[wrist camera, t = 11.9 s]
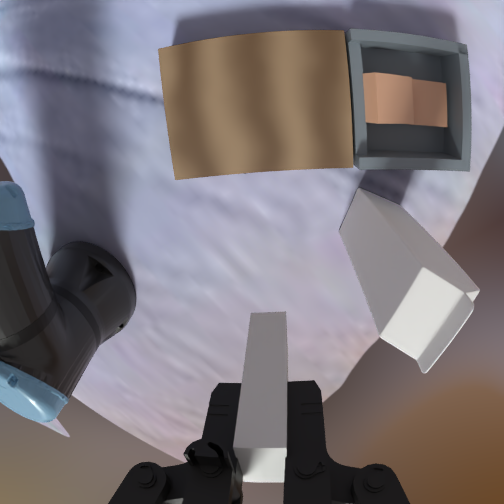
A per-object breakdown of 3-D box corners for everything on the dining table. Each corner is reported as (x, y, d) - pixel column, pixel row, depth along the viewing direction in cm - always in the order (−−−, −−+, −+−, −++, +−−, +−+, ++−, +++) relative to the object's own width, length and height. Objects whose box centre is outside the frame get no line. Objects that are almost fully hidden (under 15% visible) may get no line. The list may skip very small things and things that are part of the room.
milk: (338, 231, 38) (386, 369, 18) (358, 186, 35) (440, 292, 15) (381, 247, 38) (450, 381, 18) (401, 204, 35) (501, 315, 16)
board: (185, 171, 36) (175, 180, 32) (170, 53, 30) (158, 49, 26) (345, 160, 34) (353, 167, 30) (336, 38, 28) (344, 30, 24)
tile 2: (365, 122, 28) (378, 123, 27) (362, 73, 26) (375, 72, 25) (400, 122, 30) (413, 123, 28) (398, 77, 28) (411, 77, 26)
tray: (348, 160, 34) (359, 169, 29) (340, 38, 28) (350, 28, 23) (449, 161, 32) (469, 171, 28) (445, 49, 26) (466, 44, 22)
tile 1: (447, 127, 28) (439, 125, 30) (445, 83, 26) (437, 83, 28) (407, 124, 29) (401, 122, 31) (405, 78, 27) (399, 79, 28)
